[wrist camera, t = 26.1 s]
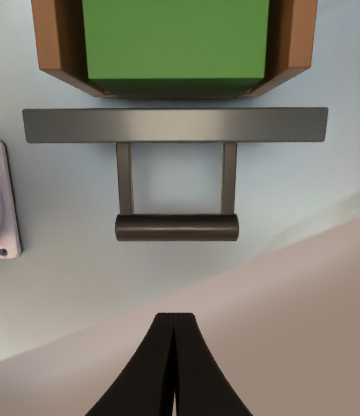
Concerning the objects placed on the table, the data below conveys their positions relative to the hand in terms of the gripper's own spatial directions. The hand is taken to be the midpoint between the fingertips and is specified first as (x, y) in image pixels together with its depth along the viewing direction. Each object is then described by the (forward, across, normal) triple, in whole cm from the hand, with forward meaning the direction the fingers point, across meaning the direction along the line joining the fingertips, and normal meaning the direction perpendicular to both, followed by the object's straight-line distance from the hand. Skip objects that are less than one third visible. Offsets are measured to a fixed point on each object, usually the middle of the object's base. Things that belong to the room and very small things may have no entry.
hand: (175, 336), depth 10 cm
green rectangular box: (+7, 0, -11) cm, 13 cm away
